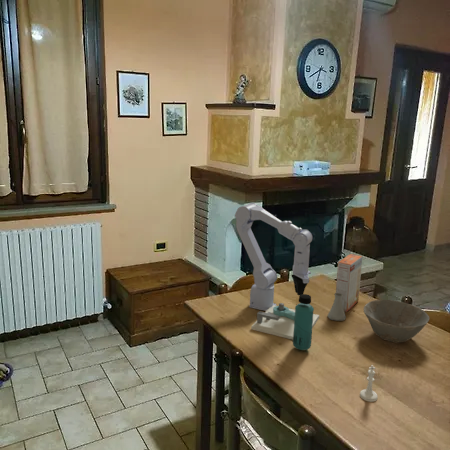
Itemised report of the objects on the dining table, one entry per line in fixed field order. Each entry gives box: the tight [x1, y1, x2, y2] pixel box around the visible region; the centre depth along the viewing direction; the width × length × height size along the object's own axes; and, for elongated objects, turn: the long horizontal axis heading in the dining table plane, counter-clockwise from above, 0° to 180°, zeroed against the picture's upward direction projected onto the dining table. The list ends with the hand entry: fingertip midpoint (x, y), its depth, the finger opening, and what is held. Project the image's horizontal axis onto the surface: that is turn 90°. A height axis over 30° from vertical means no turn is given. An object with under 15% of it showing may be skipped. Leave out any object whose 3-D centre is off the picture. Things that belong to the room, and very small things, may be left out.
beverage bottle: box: [292, 293, 315, 351], centre depth 150 cm, size 6×7×20 cm
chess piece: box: [359, 364, 378, 403], centre depth 127 cm, size 5×5×10 cm
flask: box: [327, 292, 347, 322], centre depth 176 cm, size 7×7×10 cm
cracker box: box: [335, 253, 363, 313], centre depth 187 cm, size 14×6×21 cm, turn 144°
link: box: [273, 305, 313, 324], centre depth 173 cm, size 17×6×2 cm, turn 45°
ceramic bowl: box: [363, 299, 430, 343], centre depth 162 cm, size 22×23×10 cm
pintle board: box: [250, 302, 320, 341], centre depth 171 cm, size 20×22×5 cm
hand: (299, 293), depth 176 cm, fingers closed
